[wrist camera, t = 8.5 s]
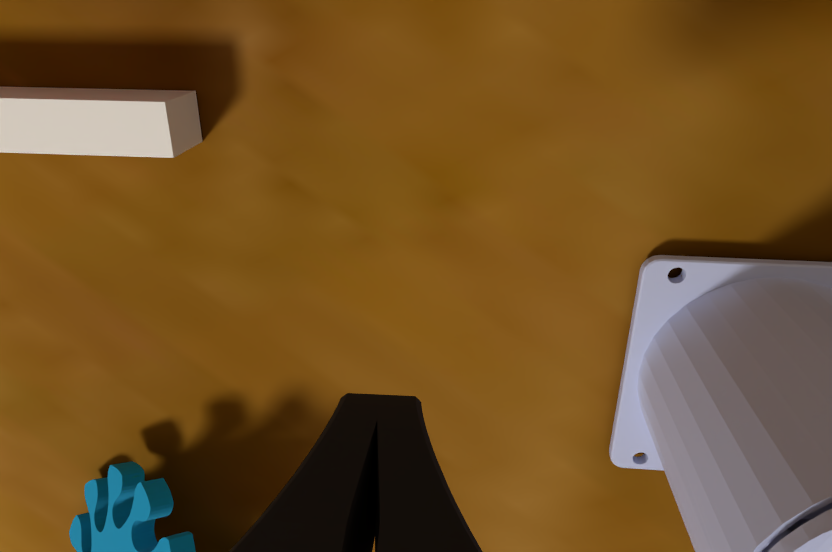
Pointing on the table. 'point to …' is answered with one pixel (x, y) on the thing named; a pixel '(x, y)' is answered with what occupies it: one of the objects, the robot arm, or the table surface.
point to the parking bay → (98, 121)
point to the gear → (126, 514)
